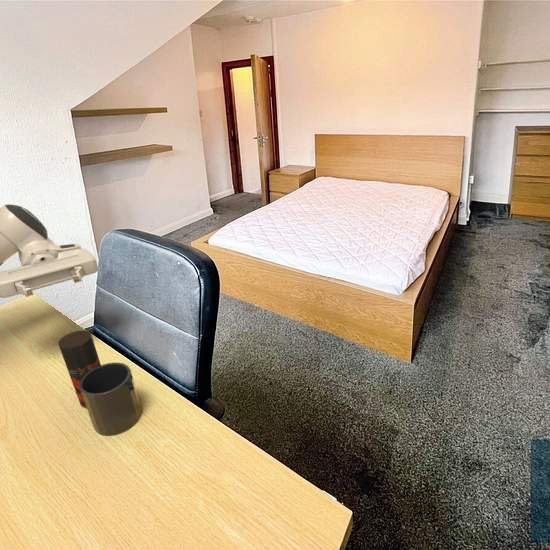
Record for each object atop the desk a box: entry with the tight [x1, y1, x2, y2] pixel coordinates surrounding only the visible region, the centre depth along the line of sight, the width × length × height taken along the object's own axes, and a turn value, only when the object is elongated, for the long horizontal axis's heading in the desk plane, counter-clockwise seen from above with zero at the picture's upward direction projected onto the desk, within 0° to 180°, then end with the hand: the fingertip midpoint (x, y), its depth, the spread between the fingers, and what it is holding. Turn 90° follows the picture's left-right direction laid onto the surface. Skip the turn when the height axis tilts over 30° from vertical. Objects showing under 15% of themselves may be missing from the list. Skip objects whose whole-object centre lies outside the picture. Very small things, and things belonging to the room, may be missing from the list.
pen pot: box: [79, 362, 142, 437], centre depth 78 cm, size 9×9×10 cm
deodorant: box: [57, 330, 102, 409], centre depth 83 cm, size 6×6×15 cm
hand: (53, 285), depth 85 cm, fingers open, 8 cm apart
